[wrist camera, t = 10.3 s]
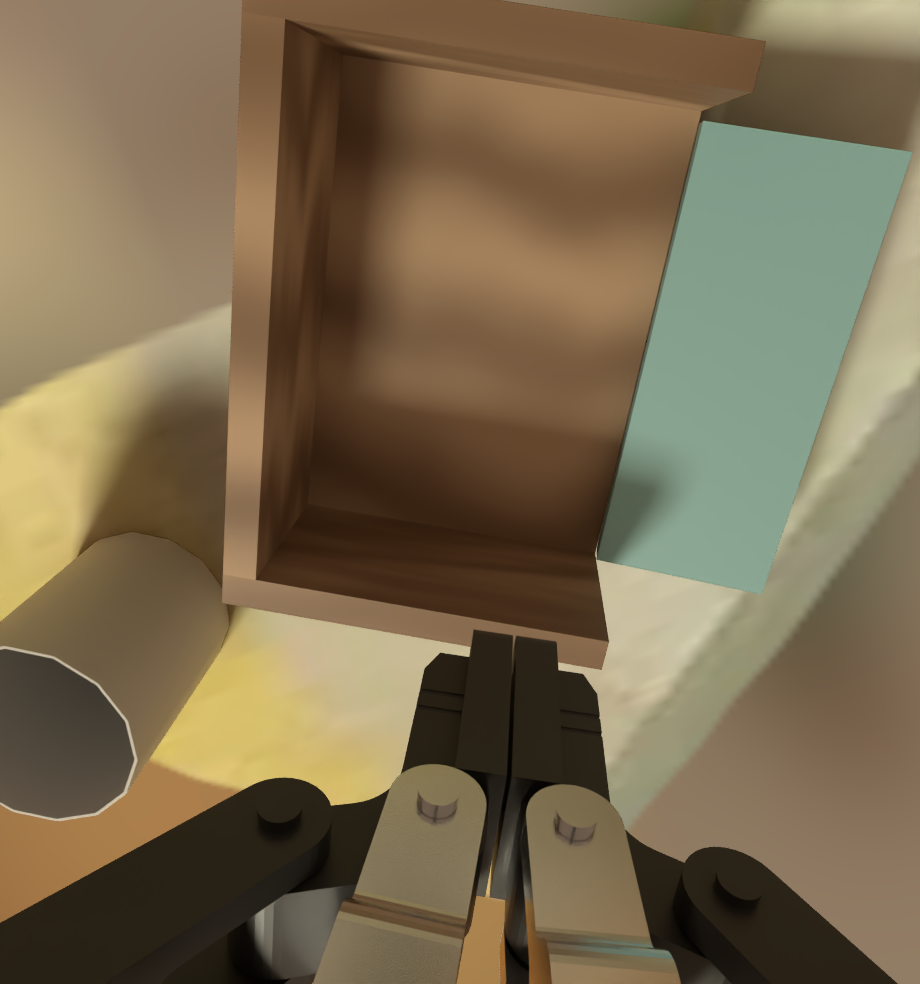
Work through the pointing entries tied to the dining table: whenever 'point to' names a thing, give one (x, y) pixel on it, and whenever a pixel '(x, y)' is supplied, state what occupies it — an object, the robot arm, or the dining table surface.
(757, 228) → the panel
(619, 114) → the box
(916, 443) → the dining table surface
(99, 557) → the cup
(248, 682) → the dining table surface
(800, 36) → the dining table surface
